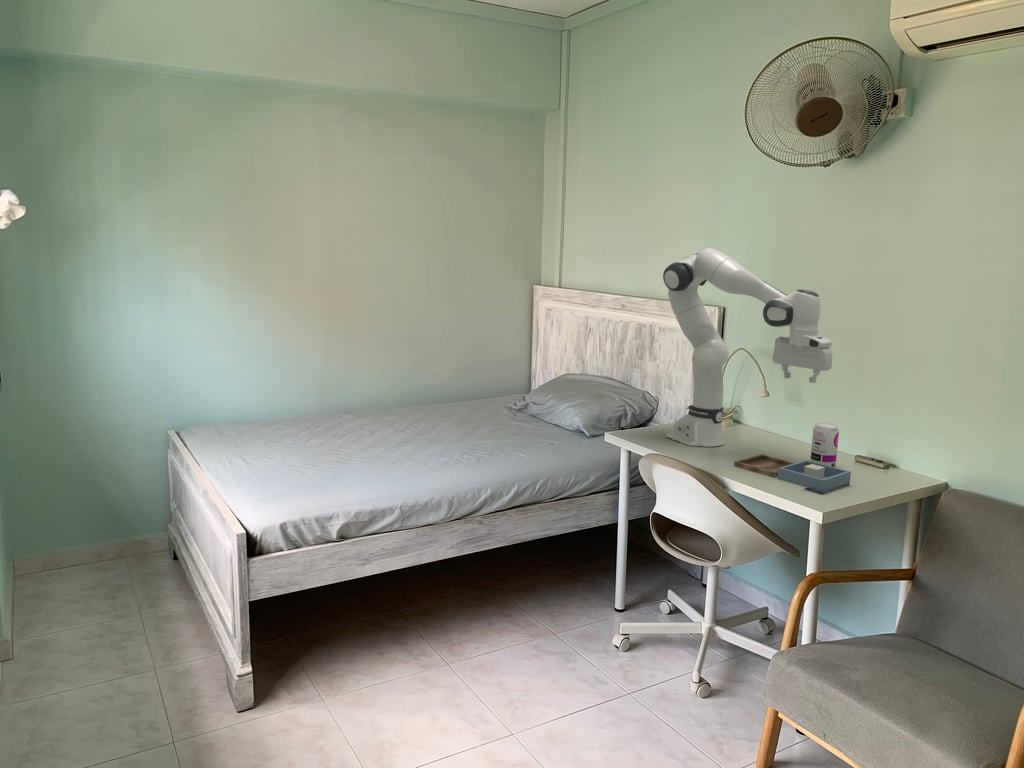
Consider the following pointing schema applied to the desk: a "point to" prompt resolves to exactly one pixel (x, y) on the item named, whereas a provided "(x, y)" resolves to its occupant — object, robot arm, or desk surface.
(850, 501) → the desk surface
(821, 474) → the sandstone block
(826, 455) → the supplement can
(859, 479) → the desk surface
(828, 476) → the slate-blue bin
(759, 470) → the walnut tray
